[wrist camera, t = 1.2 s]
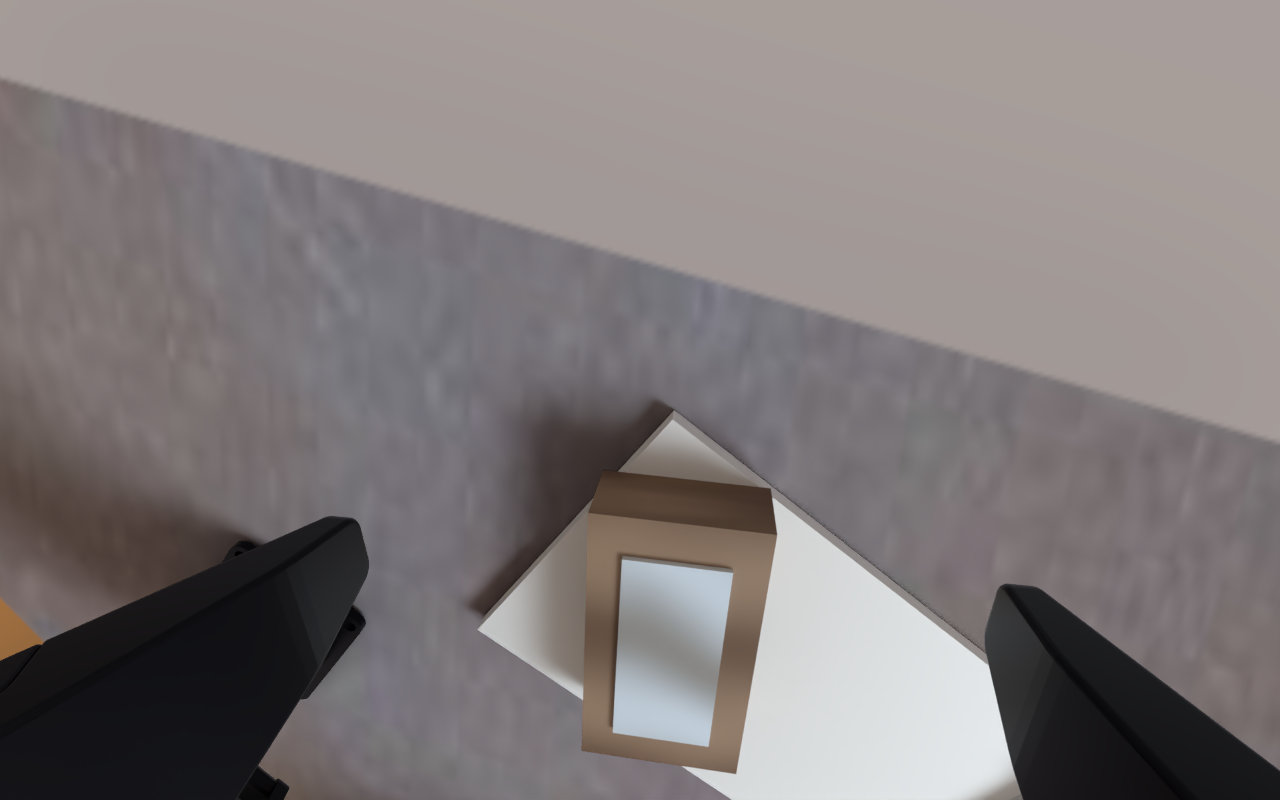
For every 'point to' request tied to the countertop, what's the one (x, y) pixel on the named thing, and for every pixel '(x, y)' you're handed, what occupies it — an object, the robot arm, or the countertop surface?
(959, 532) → the countertop surface
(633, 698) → the frame
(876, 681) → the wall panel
